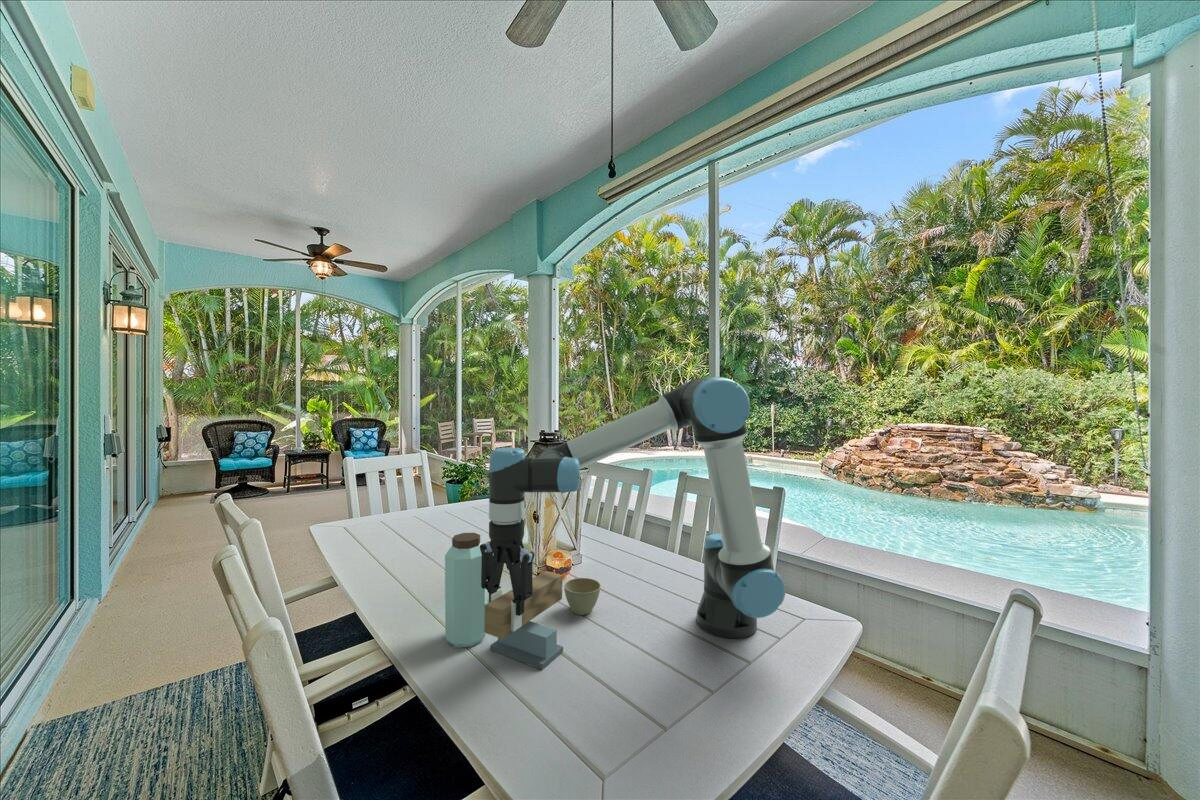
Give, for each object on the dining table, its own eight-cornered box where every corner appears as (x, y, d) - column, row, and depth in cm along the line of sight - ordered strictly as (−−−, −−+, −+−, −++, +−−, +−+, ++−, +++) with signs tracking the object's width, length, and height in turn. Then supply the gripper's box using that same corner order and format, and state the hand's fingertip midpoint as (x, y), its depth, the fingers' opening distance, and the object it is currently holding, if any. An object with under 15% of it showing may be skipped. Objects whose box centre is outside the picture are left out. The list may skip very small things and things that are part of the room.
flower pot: (596, 621, 123) (596, 594, 123) (559, 617, 125) (559, 591, 125) (603, 604, 133) (603, 579, 133) (569, 600, 135) (569, 576, 135)
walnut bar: (545, 594, 120) (546, 570, 120) (562, 598, 118) (562, 575, 117) (484, 632, 101) (484, 604, 101) (502, 639, 99) (502, 610, 98)
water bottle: (449, 654, 108) (448, 546, 107) (441, 633, 117) (441, 533, 116) (492, 643, 113) (492, 540, 112) (482, 624, 122) (482, 528, 121)
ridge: (563, 651, 110) (563, 626, 109) (542, 669, 103) (542, 642, 102) (512, 634, 117) (512, 610, 117) (490, 650, 110) (490, 624, 110)
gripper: (551, 521, 101) (550, 628, 102) (487, 509, 110) (487, 607, 111) (529, 531, 95) (528, 644, 96) (463, 517, 104) (463, 621, 104)
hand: (506, 624), depth 103 cm, fingers closed on walnut bar, 5 cm apart
